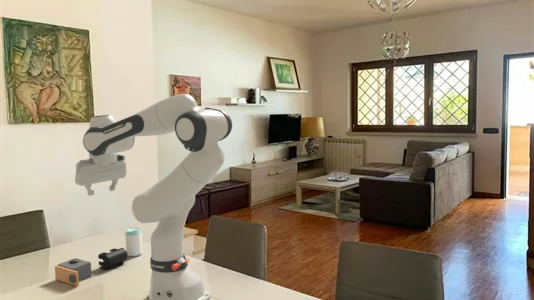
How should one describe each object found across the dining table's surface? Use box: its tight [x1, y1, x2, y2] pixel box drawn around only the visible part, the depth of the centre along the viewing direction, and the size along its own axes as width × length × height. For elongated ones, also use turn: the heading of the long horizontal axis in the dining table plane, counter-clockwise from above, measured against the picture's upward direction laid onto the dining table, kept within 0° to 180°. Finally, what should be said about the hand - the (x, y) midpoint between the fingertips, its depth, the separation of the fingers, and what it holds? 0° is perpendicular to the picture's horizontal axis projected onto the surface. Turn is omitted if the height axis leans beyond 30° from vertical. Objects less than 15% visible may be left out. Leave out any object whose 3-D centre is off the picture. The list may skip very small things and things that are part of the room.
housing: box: [57, 258, 93, 283], centre depth 158 cm, size 10×8×7 cm
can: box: [124, 227, 143, 258], centre depth 184 cm, size 7×7×12 cm
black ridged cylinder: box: [97, 247, 129, 271], centre depth 170 cm, size 10×7×7 cm
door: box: [54, 264, 80, 287], centre depth 153 cm, size 14×2×6 cm, turn 59°
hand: (101, 192), depth 152 cm, fingers open, 8 cm apart
